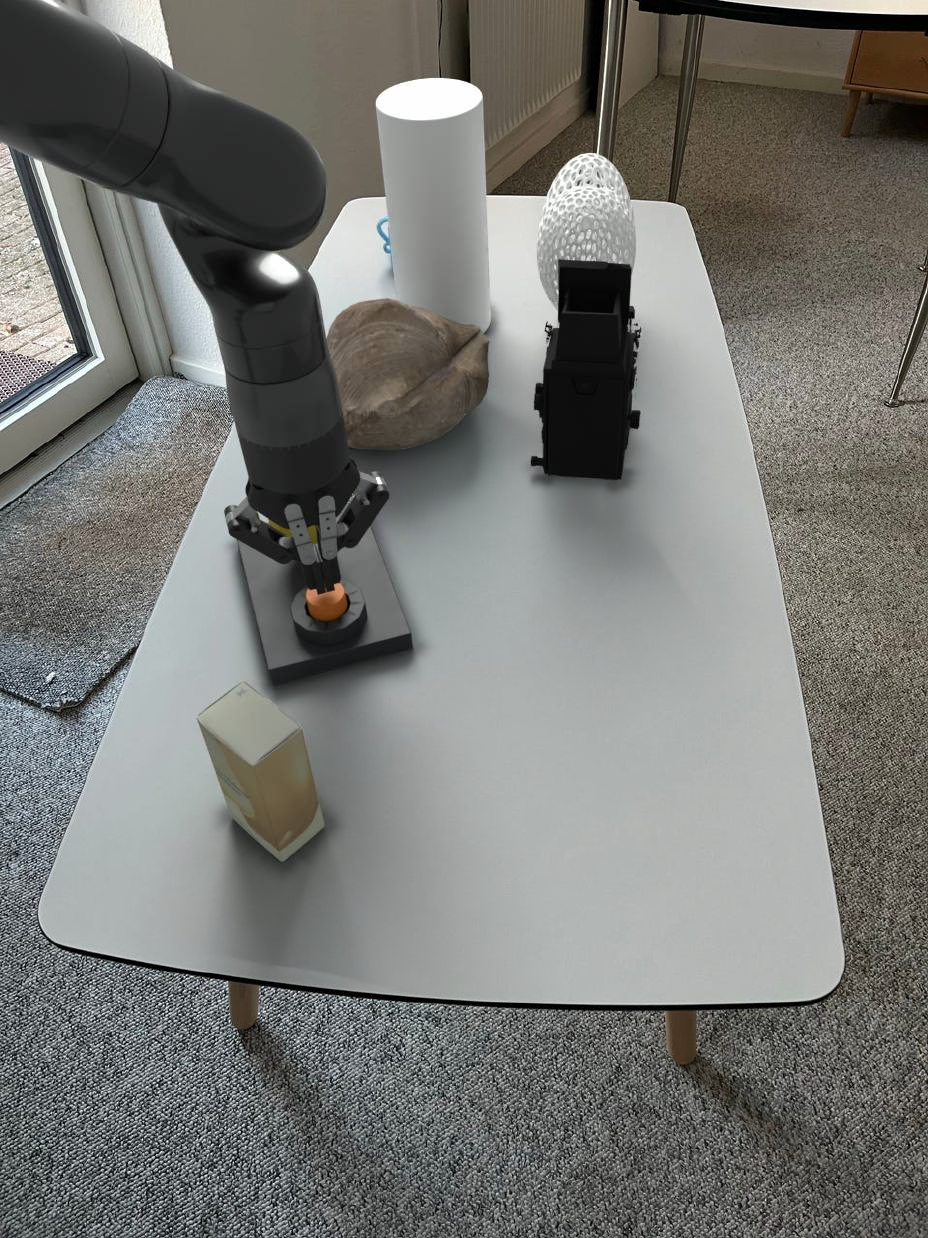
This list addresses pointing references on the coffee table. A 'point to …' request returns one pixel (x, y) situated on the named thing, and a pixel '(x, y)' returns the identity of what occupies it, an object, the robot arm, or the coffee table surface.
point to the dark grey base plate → (325, 645)
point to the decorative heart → (585, 219)
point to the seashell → (404, 373)
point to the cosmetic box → (262, 769)
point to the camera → (589, 373)
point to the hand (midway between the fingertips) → (324, 585)
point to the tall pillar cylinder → (437, 196)
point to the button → (327, 603)
